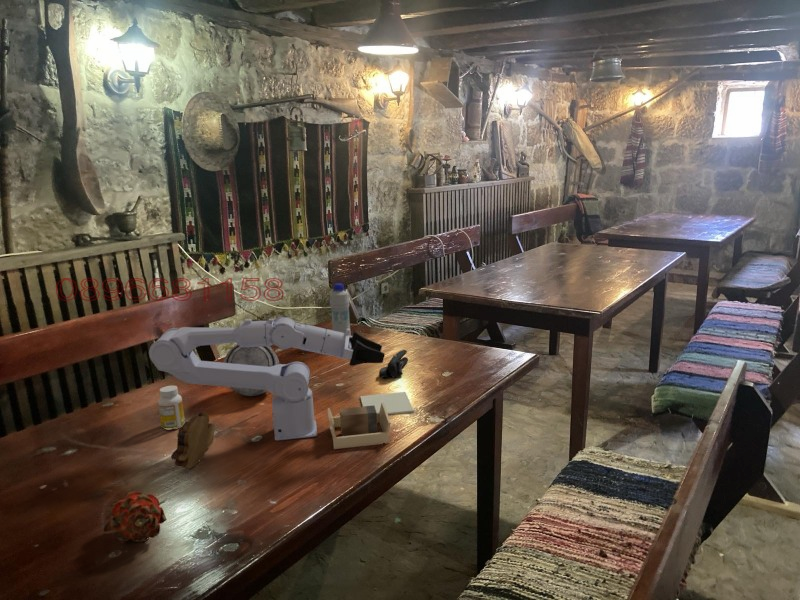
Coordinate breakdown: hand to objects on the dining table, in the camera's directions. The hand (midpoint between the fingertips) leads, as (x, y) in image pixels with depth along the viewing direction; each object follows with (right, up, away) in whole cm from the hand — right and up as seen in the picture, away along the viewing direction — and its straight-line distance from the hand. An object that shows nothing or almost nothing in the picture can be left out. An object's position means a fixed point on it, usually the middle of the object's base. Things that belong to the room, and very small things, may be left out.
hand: (382, 353), depth 139 cm
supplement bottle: (-51, -18, +8) cm, 54 cm away
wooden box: (-5, -19, 0) cm, 19 cm away
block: (-5, -19, 0) cm, 19 cm away
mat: (+1, -14, +16) cm, 21 cm away
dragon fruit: (-41, -29, -34) cm, 61 cm away
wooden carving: (-40, -22, -9) cm, 46 cm away
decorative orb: (-36, -13, +26) cm, 46 cm away
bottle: (-16, -2, +69) cm, 71 cm away
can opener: (+3, -9, +40) cm, 41 cm away
